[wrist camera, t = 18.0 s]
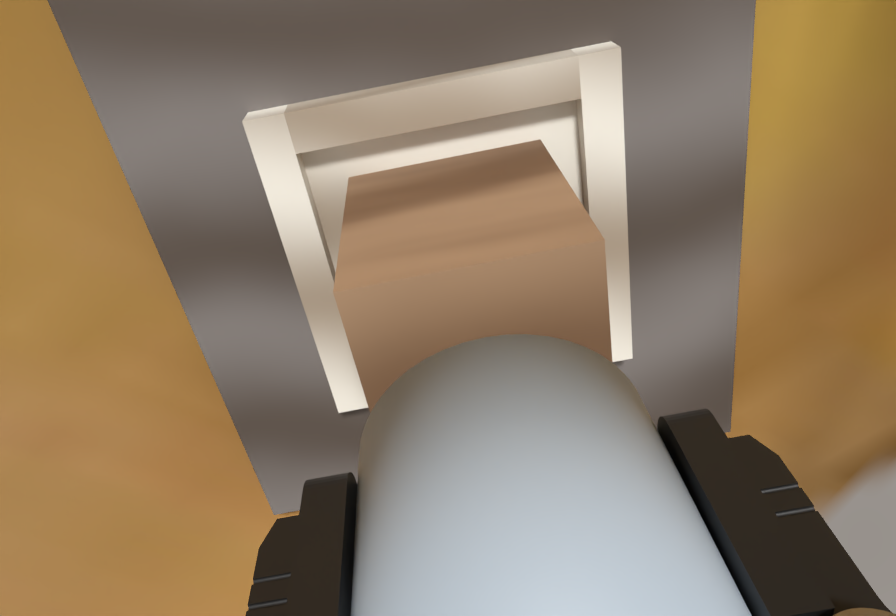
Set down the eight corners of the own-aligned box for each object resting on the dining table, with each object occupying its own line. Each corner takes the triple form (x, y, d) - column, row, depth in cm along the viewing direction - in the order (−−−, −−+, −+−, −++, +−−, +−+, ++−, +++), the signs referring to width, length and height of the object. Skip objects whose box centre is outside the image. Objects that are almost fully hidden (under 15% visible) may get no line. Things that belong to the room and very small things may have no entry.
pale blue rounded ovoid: (325, 366, 11) (264, 809, 5) (645, 308, 10) (895, 701, 5) (393, 574, 13) (396, 1007, 8) (650, 528, 13) (823, 937, 8)
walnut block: (348, 177, 18) (332, 292, 12) (540, 139, 17) (604, 239, 12) (390, 336, 20) (392, 486, 15) (558, 304, 20) (617, 444, 15)
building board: (39, -68, 15) (0, -65, 14) (746, -212, 15) (787, -224, 13) (278, 493, 25) (270, 533, 23) (718, 412, 24) (740, 447, 23)
